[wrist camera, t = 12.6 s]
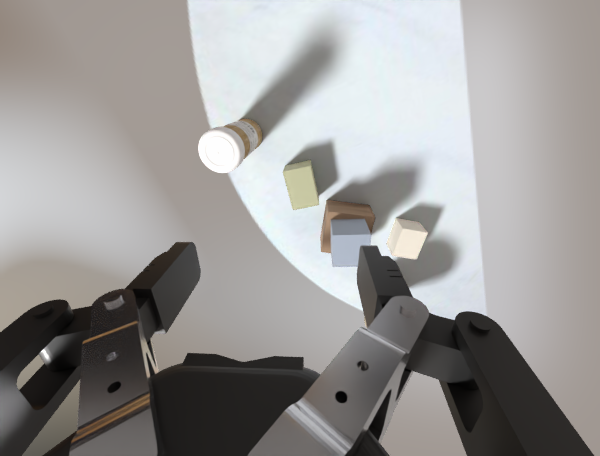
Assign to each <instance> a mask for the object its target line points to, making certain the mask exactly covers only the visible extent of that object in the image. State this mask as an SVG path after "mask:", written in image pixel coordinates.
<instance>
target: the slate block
mask: <svg viewBox="0 0 600 456" xmlns="http://www.w3.org/2000/svg"><path fill="white" fill-rule="evenodd" d="M370 243H371V233H370V230H369V228H368V226H367V223H366V221H365V219H333V220H331V256H332V266H333V267H352V266H358V260H359V250H360V246H361V245H368V246H370Z"/></svg>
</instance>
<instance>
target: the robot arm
mask: <svg viewBox="0 0 600 456" xmlns="http://www.w3.org/2000/svg"><path fill="white" fill-rule="evenodd" d="M199 279H200V266H199V261H198V257H197V251H196V247H195V245H194V243H193V242H176V243H175V244H174V245H173V246H172V247H171V248H170V249H169V250H168V251H167V252H164V253H162V254H161V255H159V256H157V257H156V258H155V259H154V260H153V261H152V262H151V263H150V264H149V266H147V267H146V268H145V269H144V270H143V271H142V272H141V273H140V274H139V275H138V276H137V277H136V278H135V279H134V280H133V281H132V282H131V283H130V284H129V285H128V286H127V287H126V288H125V289H118V290H114V291H111V292H108V293H106V294H104V295H102V296H101V297H99V298H98V299H96V301H94V303H93V304H92V306H89V307H84V308H78V309H73V310H72V309H71V307H70V306H69V304H68V302H67V301H65V300H52V301H48V302H45V303H42V304H40V305H37V306H35V307H33V308H31V309H30V310H28V311H27V312H25V313H24V314H23V315H22V316H20V317H19V318H18V319H17V320H15V321H14V322H13V323H12V324H10V325H9V326H8V327H7V328H5V329H4V330H3V331H2V332H0V456H22V454H23V453H24V452H25V451H26V449H27V448H28V447H29V445H30V444H31V443H32V441H33V440H34V439H35V437H36V436H37V435H38V433H39V432H40V431H41V430H42V428H43V427H44V425H45V424H46V423H47V421H48V420H49V419H50V418H51V416H52V415H53V414H54V412H55V411H56V410H57V409H58V407H59V405H61V403H62V402H63V401H64V399H65V398H66V397H67V395H68V394H69V393H70V392H71V390H72V389H73V387H74V386H75V385H76V384H77V382H78V381H79V380H80V391H79V408H78V425H77V431H76V432H75V433H73V434H71V435H70V436H69V437H67V438H66V439H65V440H63V441H62V442H60V443H59V444H58V445H56V446H55V447H54V448H52V449H51V450H49V451H48V452H47V453H45V454H44V455H43V456H389V454H388V453H387V452H386V451H385V449H384V448H383V447H382V446H381V444H380V443H381V441H382V439H383V437H384V435H385V433H386V430H387V428H388V426H389V423H390V420H391V418H392V415H393V412H394V410H395V408H396V406H397V404H398V402H399V400H400V398H401V395H402V394H403V391H404V389H405V387H406V385H407V383H408V381H409V379H410V377H411V375H412V373H413V371H415V372H418V373H421V374H424V375H427V376H430V377H433V378H436V379H439V382H440V384H441V387H442V390H443V392H444V395H445V398H446V400H447V403H448V406H449V408H450V411H451V414H452V417H453V419H454V422H455V425H456V427H457V430H458V433H459V435H460V438H461V441H462V443H463V446H464V449H465V451H466V454H467V456H594V455H593V454H592V452H591V451H590V449H589V448H588V447H587V445H586V444H585V442H584V441H583V440H582V438H581V437H580V436H579V434H578V433H577V431H576V430H575V429H574V427H573V426H572V425H571V423H570V422H569V420H568V419H567V418H566V416H565V415H564V414H563V412H562V411H561V409H560V408H559V407H558V405H557V404H556V403H555V401H554V400H553V398H552V397H551V396H550V394H549V393H548V392H547V390H546V389H545V387H544V386H543V385H542V383H541V382H540V380H539V379H538V378H537V376H536V375H535V373H534V372H533V371H532V369H531V368H530V367H529V365H528V364H527V363H526V361H525V360H524V358H523V357H522V356H521V354H520V353H519V351H518V350H517V349H516V347H515V346H514V345H513V343H512V342H511V341H510V339H509V338H508V336H507V335H506V333H505V332H504V331H503V330H502V328H501V327H500V326H499V325H498V324H497V323H496V322H495V321H493V320H492V319H490V318H489V317H487V316H485V315H482V314H479V313H476V312H467V311H466V312H461V313H459V314H458V315H457V316H456V318H455V320H451V319H447V318H443V317H439V316H436V315H433V314H431V313H429V311H428V309H427V307H426V306H425V305H424V304H423V303H422V302H420V301H419V300H417V299H415V298H413V296H412V294H411V292H410V290H409V288H408V286H407V284H406V282H405V280H404V278H403V276H402V274H401V272H400V270H399V268H398V266H397V264H396V262H395V261H393V260H392V259H391V258H390V257H389V256H381V254H380V252H379V249H378V247H377V246H368V245H361V246H360V250H359V260H358V269H357V285H358V289H359V294H360V298H361V303H362V307H363V311H364V316H365V320H366V325H367V329H364V328H363V327H360V328H359V329H358V330H357V331H356V332H355V333H354V335H353V336H352V337H351V338H350V339H349V341H348V342H347V343H346V344H345V346H344V347H343V348H342V349H341V351H340V352H339V353H338V354H337V356H336V357H335V358H334V359H333V361H332V362H331V363H330V364H329V365H328V366H327V368H326V369H325V370H324V371H323V373H322V374H319V373H317V372H315V371H313V370H311V369H308V368H305V367H303V366H304V365H303V357H279V356H273V357H268V358H263V359H258V360H253V361H247V362H240V361H237V360H234V359H230V358H227V357H224V356H220V355H217V354H199V353H188V354H187V356H186V358H185V360H184V362H183V363H181V364H177V365H174V366H171V367H169V368H167V369H164V370H162V371H160V372H159V370H158V366H157V362H156V357H155V352H154V348H153V344H152V341H151V337H152V335H153V334H166V333H167V331H168V329H169V328H170V326H171V325H172V323H173V321H174V320H175V318H176V317H177V315H178V314H179V312H180V310H181V309H182V307H183V305H184V304H185V302H186V300H187V299H188V298H189V296H190V294H191V293H192V291H193V290H194V288H195V286H196V285H197V283H198V281H199ZM38 354H39V355H40V357H41V359H42V360H43V362H44V365H43V366H42V367H41V368H40V369H39V370H38V371H37V372H36V373H35V374H34V375H33V376H32V377H31V378H30V379H29V381H28V382H26V384H25V385H24V386H23V387H22V388H21V389H20V390H19V389H18V388H17V385H16V383H17V378H18V376H19V374H20V372H21V371H22V370H23V369H24V368H25V367H26V366H27V365H28V364H29V363H30V362H31V361H32V360H33V359H34V358H35V357H36V356H37V355H38Z"/></svg>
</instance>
